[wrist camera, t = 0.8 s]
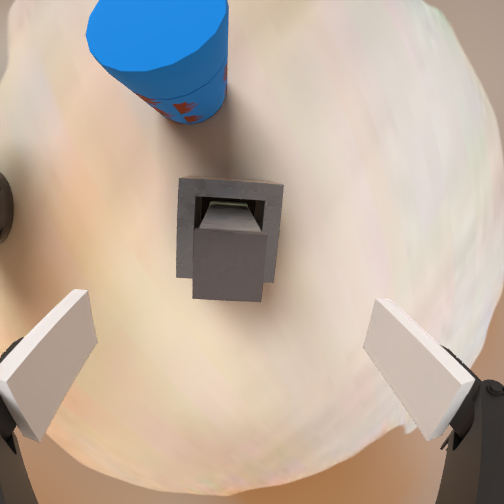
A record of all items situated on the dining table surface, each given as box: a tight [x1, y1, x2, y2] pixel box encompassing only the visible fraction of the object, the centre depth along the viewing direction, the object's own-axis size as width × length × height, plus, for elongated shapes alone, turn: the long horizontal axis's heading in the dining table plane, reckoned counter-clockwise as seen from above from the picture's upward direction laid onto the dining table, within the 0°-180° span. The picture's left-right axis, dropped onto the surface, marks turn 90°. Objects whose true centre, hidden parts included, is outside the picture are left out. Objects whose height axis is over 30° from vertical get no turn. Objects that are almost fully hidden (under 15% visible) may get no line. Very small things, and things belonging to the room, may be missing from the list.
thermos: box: [86, 0, 229, 124], centre depth 26 cm, size 11×11×25 cm
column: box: [193, 201, 268, 302], centre depth 33 cm, size 5×6×22 cm
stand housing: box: [176, 176, 284, 283], centre depth 38 cm, size 12×12×11 cm
